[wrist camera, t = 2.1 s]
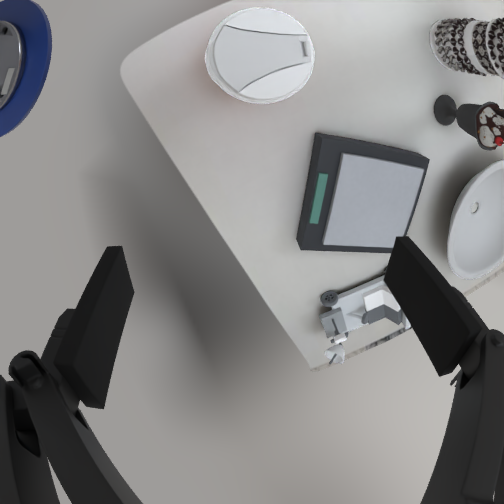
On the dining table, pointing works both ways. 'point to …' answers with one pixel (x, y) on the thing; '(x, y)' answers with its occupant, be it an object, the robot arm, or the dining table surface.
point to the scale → (358, 195)
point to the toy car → (357, 312)
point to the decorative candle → (469, 45)
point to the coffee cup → (260, 55)
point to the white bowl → (478, 225)
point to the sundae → (474, 120)
